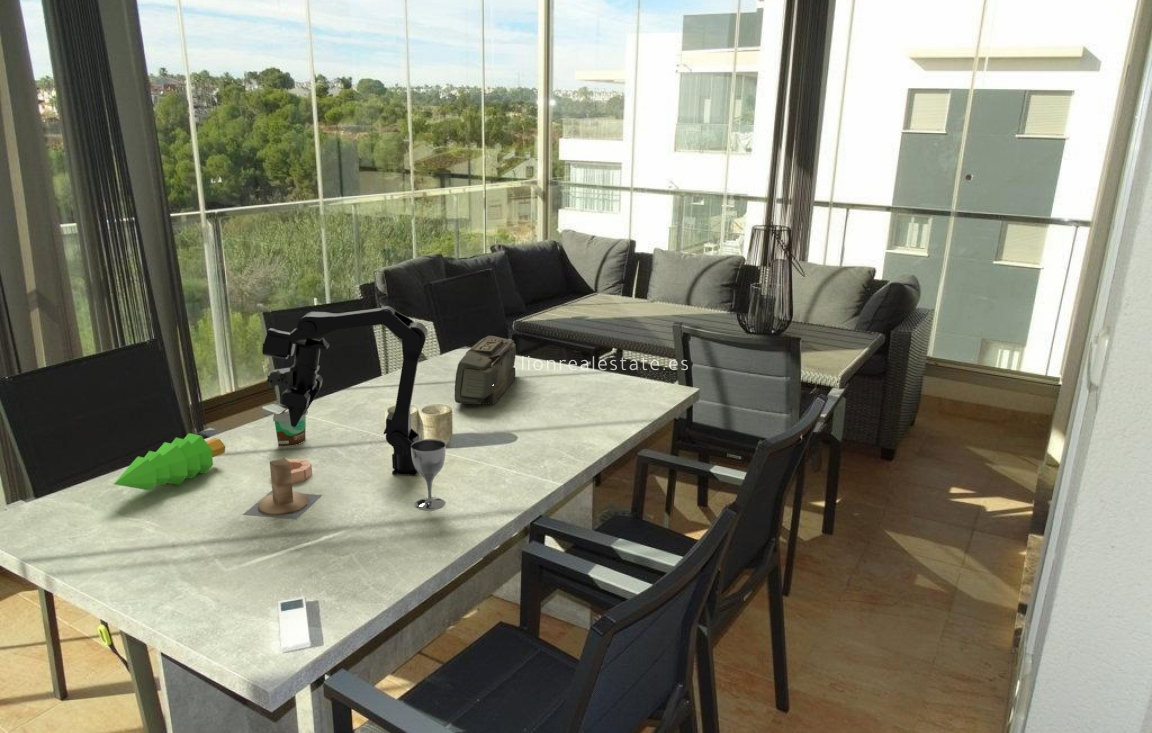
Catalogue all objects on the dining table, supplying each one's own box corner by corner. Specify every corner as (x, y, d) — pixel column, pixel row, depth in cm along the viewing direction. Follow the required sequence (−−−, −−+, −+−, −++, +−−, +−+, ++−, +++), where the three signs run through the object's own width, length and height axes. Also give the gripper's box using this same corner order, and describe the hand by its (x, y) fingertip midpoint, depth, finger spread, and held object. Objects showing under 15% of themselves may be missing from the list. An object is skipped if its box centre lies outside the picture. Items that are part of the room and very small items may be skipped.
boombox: (491, 386, 299) (475, 336, 296) (534, 374, 295) (518, 323, 292) (455, 419, 256) (435, 361, 253) (504, 405, 253) (485, 346, 249)
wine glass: (431, 514, 184) (429, 454, 180) (406, 505, 188) (403, 446, 184) (453, 501, 190) (452, 443, 186) (428, 493, 195) (427, 436, 190)
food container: (295, 450, 220) (292, 416, 217) (275, 448, 221) (272, 414, 218) (318, 434, 232) (315, 402, 229) (298, 433, 233) (296, 400, 230)
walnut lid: (296, 490, 193) (292, 449, 190) (316, 505, 186) (313, 462, 183) (250, 503, 186) (246, 460, 183) (269, 519, 178) (265, 475, 175)
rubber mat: (322, 497, 191) (322, 495, 191) (296, 521, 179) (296, 519, 179) (271, 493, 193) (271, 490, 193) (242, 516, 181) (242, 514, 180)
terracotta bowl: (317, 472, 206) (316, 460, 205) (301, 486, 197) (300, 474, 196) (284, 469, 207) (283, 458, 206) (267, 483, 198) (266, 471, 197)
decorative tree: (224, 421, 206) (119, 456, 179) (239, 462, 207) (137, 503, 180) (195, 430, 211) (89, 466, 184) (210, 471, 212) (107, 512, 185)
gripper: (282, 347, 205) (275, 403, 209) (262, 366, 188) (254, 427, 191) (326, 355, 207) (318, 410, 211) (310, 375, 189) (301, 435, 193)
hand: (298, 420), depth 202 cm, fingers open, 9 cm apart
